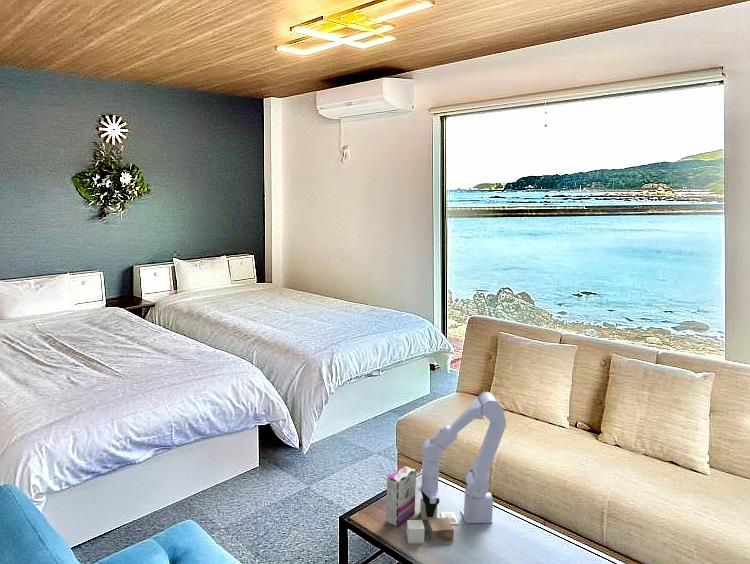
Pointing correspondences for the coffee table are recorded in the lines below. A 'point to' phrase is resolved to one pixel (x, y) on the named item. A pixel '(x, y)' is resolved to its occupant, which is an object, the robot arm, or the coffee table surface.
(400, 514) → the candy bar box
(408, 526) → the pale grey cube
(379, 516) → the coffee table surface
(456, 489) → the coffee table surface
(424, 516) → the sage cube
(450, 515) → the card
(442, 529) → the walnut block
